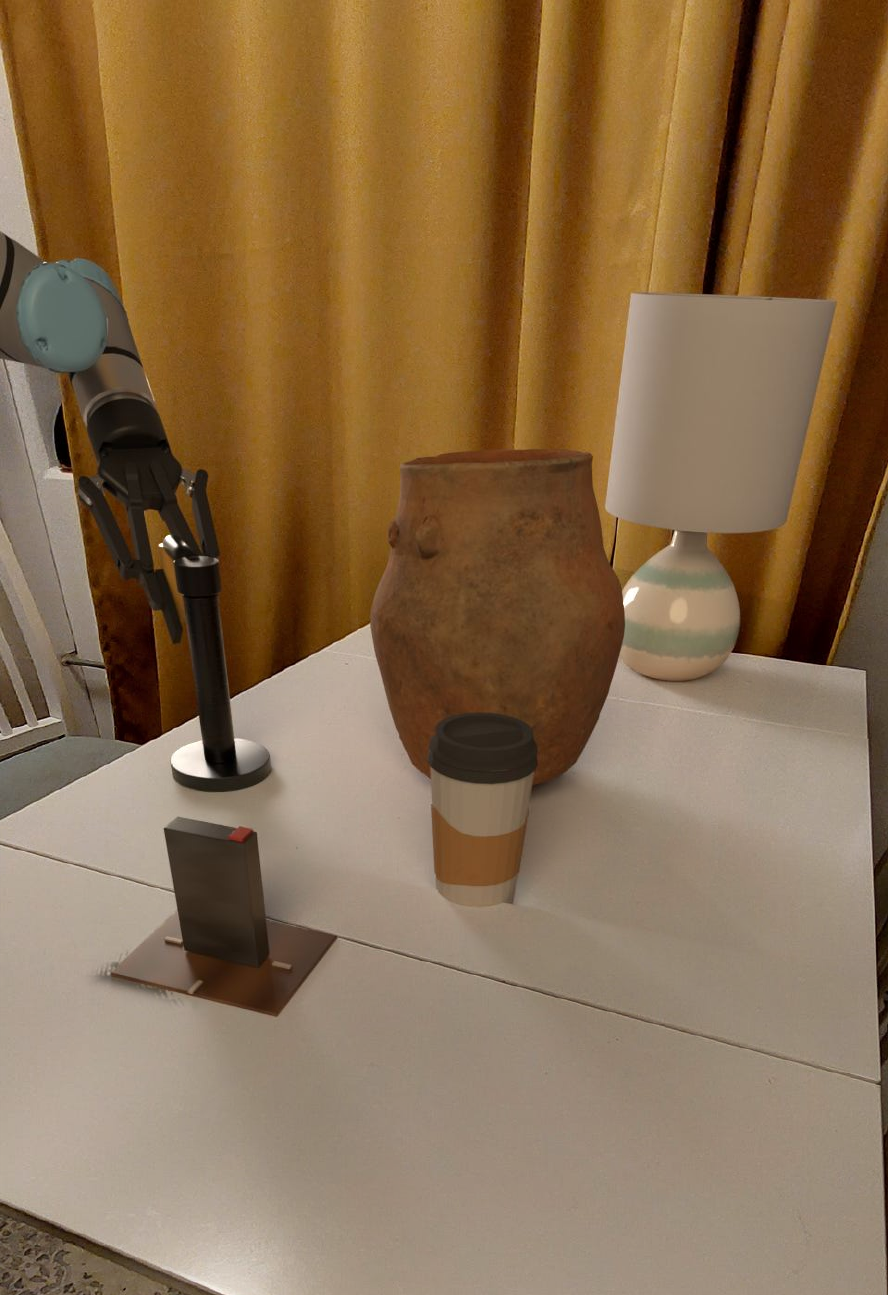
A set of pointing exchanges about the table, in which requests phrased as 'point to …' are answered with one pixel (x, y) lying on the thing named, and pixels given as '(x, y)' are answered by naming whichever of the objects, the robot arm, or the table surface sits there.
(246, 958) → the dark gray slab
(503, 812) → the coffee cup
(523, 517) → the pot
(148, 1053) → the table surface
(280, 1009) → the brown wooden board
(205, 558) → the crank handle
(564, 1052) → the table surface
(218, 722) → the faucet
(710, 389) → the lamp
